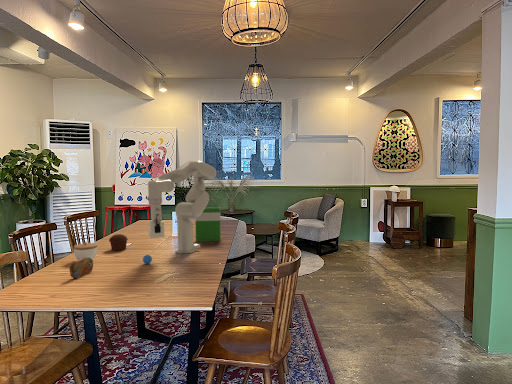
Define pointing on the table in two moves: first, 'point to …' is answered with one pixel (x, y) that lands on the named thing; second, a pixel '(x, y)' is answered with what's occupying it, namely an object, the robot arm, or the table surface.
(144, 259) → the ball
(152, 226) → the beige cube
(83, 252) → the lidded bowl
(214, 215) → the hardback book
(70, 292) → the table surface
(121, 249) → the muffin
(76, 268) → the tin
